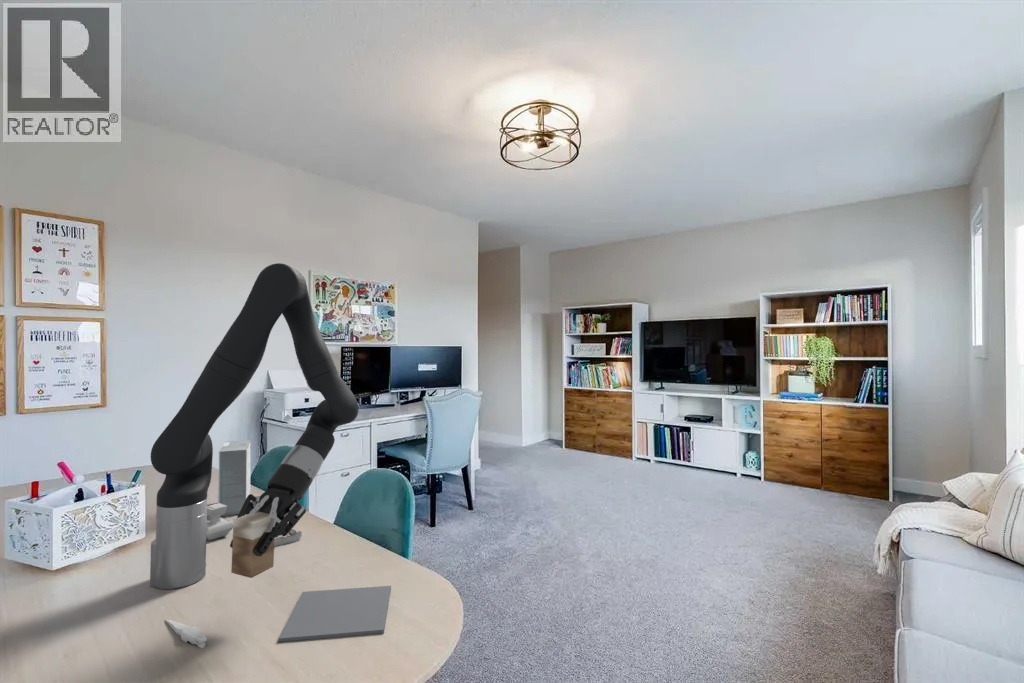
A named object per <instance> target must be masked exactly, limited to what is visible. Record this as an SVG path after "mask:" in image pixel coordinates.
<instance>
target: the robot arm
mask: <svg viewBox="0 0 1024 683" xmlns="http://www.w3.org/2000/svg"><path fill="white" fill-rule="evenodd" d="M281 316H283V318H284V320H285V322H286V323H287V326H288V328H289V332H290V334H291V338H292V342H293V347H294V351H295V354H296V358H297V362H298V364H299V366H300V369H301V371H302V374H303V376H304V378H305V380H306V383H307V385H308V387H309V389H311V391H313V392H319V393H320V394H321V396H322V397H323V398H324V400H322V401H320V403H318V404H317V406H316V407H315V408H314V410H313V411H312V414H311V416H310V418H309V419H308V420H309V421H308V423H307V425H306V428H305V430H304V432H303V433H302V434H301V435H300V437H299V439H298V440H297V441H296V443H295V445H294V446H293V447H292V448H291V449H290V451H289V452H287V454H286V455H285V456H284V458H283V459H282V461H281V463H280V464H279V465H278V467H277V469H276V470H275V471H274V473H273V474H272V476H271V477H270V479H269V480H268V481H267V489H266V490H265V491H264V492H263V493H261V495H258V496H257V495H256V496H255V495H254V494H252V493H250V495H248V496H247V498H246V500H245V502H244V504H243V506H242V509H241V511H240V513H239V514H237V517H236V518H239V517H242V516H244V515H247V514H250V513H257V512H263V513H268V514H269V516H271V519H270V520H271V521H270V523H269V525H268V526H267V529H266V533H265V532H264V533H263V535H262V536H261V538H260V539H259V541H258V542H257V544H256V546H255V547H254V549H253V553H254V554H255V555H257V556H262V555H263V554H264V553H265V552H266V551H267V549H268V548H269V546H270V544H271V543H272V541H273V540H274V538H275V539H276V538H278V537H286V536H288V534H290V533H289V532H290V530H291V529H293V528H294V527H296V525H297V523H298V522H299V521H300V520H301V519H302V517H304V515H305V514H306V513H307V510H306V509H305V507H304V506H303V505H302V504H300V503H299V501H301V500H303V498H304V496H305V494H306V493H307V491H308V489H309V488H310V487H311V485H312V484H313V481H314V480H315V478H316V476H317V475H318V474H319V472H320V470H321V468H322V465H323V464H324V462H325V460H326V458H327V456H328V455H329V453H330V452H331V450H332V449H333V447H334V444H335V441H336V440H335V436H334V432H335V431H336V429H338V427H339V426H344V425H348V424H351V423H352V422H354V421H355V419H357V417H358V414H359V404H358V400H357V398H356V396H355V394H354V393H353V391H352V390H351V389H350V388H349V386H348V385H347V383H346V382H345V381H344V379H343V378H342V377H341V375H340V374H339V372H338V369H337V367H336V364H335V363H334V362H335V361H334V360H333V358H332V356H331V353H330V351H329V349H328V346H327V343H326V342H325V339H324V337H323V335H322V332H321V330H320V328H319V326H318V325H319V324H318V323H317V320H316V317H315V314H314V310H313V306H312V304H311V298H310V294H309V290H308V286H307V281H306V278H305V276H303V274H302V273H301V272H300V271H298V270H297V269H295V268H294V267H291V265H289V264H285V263H279V262H278V263H273V264H270V265H267V266H266V267H264V268H263V269H262V270H261V271H260V272H259V274H258V275H257V278H256V280H255V281H254V284H253V286H252V288H251V291H250V292H249V294H248V297H247V299H246V300H245V303H244V305H243V306H242V308H241V311H240V312H239V314H238V316H237V317H236V318H235V320H234V321H233V322H232V324H231V326H229V328H228V330H227V331H226V333H225V335H224V337H222V339H221V340H220V343H219V344H218V345H217V347H216V348H215V350H214V351H213V353H212V355H211V356H210V358H209V359H208V361H207V363H206V364H205V366H204V367H203V370H202V372H201V373H200V375H199V377H198V378H197V380H196V382H194V383H195V384H193V386H192V388H191V390H190V392H189V394H188V396H187V397H186V399H185V401H184V402H183V404H182V406H181V408H179V410H178V412H177V413H176V414H175V416H174V417H173V418H172V419H171V421H169V423H168V424H167V426H166V427H165V428H164V430H163V431H162V433H160V435H159V436H158V437H157V439H156V440H155V442H154V443H153V445H152V447H151V451H150V462H151V465H152V467H153V469H154V470H155V471H156V472H157V473H160V474H163V475H165V478H164V481H163V483H162V484H161V486H160V488H159V489H158V491H157V493H156V507H155V508H156V512H155V513H156V514H155V516H156V517H155V518H156V519H155V539H154V540H152V541H151V543H150V561H149V562H150V563H149V564H150V569H149V570H150V571H149V576H150V577H149V587H150V588H158V589H161V590H172V589H180V588H183V587H187V586H190V585H193V584H196V583H198V582H199V581H200V580H202V579H203V578H204V577H205V576H206V570H207V569H206V567H207V561H206V560H207V539H206V530H207V521H208V518H207V517H208V515H207V506H208V491H209V487H210V485H211V483H212V482H211V481H212V473H213V472H212V469H213V456H214V453H213V452H214V448H213V447H214V446H213V441H212V440H213V439H212V438H211V435H210V434H209V433H210V431H211V429H212V428H213V426H214V424H215V423H216V421H217V420H218V419H219V418H220V417H221V415H222V414H223V413H225V411H226V410H227V409H228V408H229V407H230V406H231V405H232V404H233V403H234V402H235V401H236V399H237V398H238V397H239V396H240V395H241V394H242V392H244V390H245V389H246V388H247V386H248V385H249V383H250V381H251V380H252V378H253V377H254V374H255V373H256V371H257V369H258V368H259V367H260V364H261V362H262V360H263V357H264V354H265V351H266V349H267V344H268V341H269V338H270V334H271V332H272V329H273V327H275V324H277V323H276V322H277V321H278V320H279V318H280V317H281ZM287 523H288V525H287V526H286V527H285V525H286V524H287ZM274 526H275V527H274ZM284 527H285V528H284ZM232 545H233V538H232V539H231V541H230V545H229V547H230V548H231V549H232Z"/></svg>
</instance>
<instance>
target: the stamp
mask: <svg viewBox="0 0 1024 683" xmlns="http://www.w3.org/2000/svg"><path fill="white" fill-rule="evenodd" d="M226 510H227V506H226V505H223V504H220V503H215V504H211V505H207V517H209V520H207V530H206V540H208V541H212V540H215V539H220V538H222V537H225V536H227V535H228V534H229V533H230V532H231V531H233V522H232V521H229V520H227V519H225V518H223V517H222V516H221V515H223V514H225V511H226ZM220 516H221V517H220Z"/></svg>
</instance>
